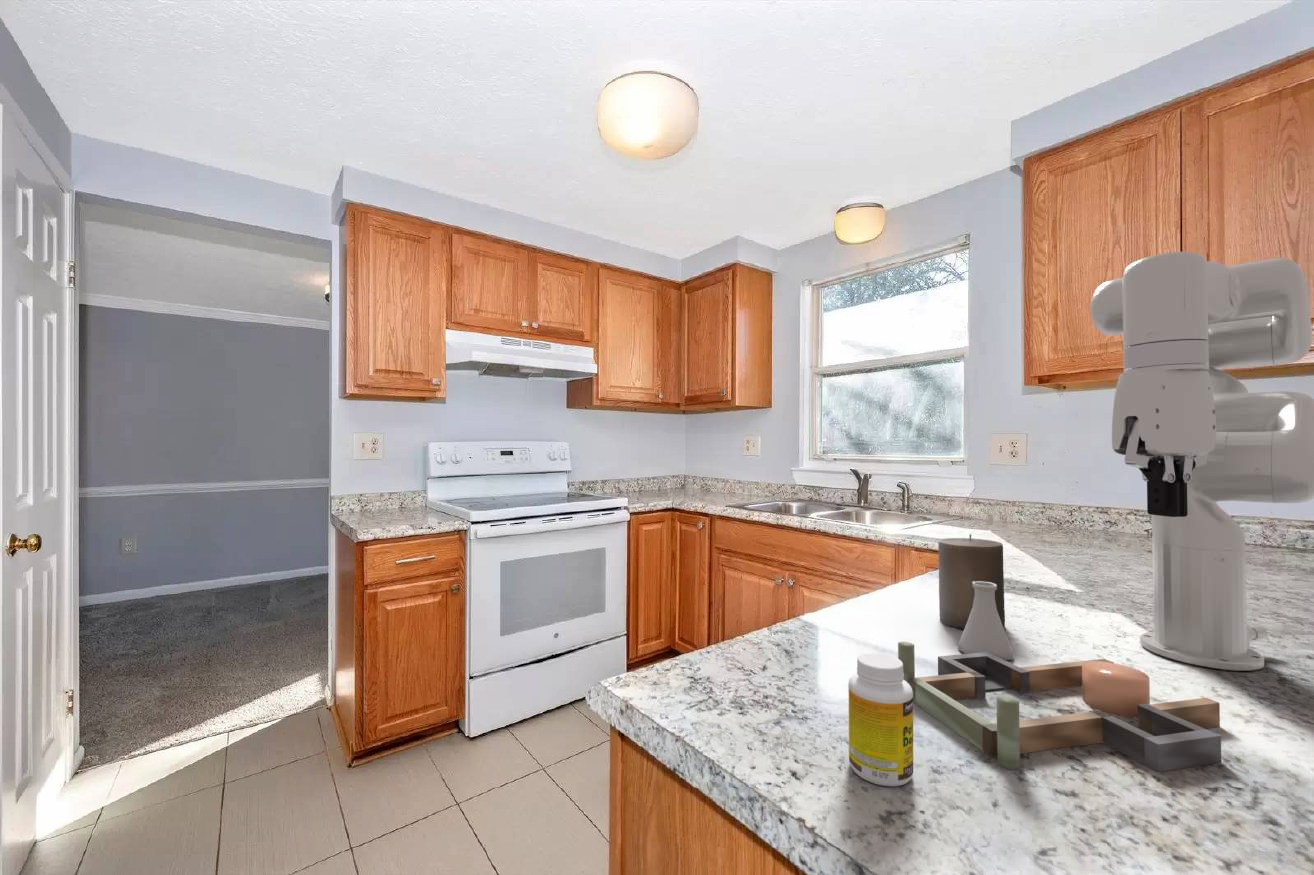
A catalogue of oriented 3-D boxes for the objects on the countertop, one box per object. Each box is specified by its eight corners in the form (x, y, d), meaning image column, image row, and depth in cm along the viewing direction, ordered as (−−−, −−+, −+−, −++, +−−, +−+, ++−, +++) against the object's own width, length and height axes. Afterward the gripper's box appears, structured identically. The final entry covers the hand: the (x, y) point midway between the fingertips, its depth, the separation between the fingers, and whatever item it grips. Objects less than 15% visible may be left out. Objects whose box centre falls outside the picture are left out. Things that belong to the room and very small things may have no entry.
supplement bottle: (913, 796, 48) (912, 676, 48) (845, 780, 50) (844, 666, 50) (914, 763, 53) (913, 654, 53) (852, 749, 55) (851, 645, 55)
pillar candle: (1018, 633, 89) (1016, 538, 89) (956, 632, 89) (955, 538, 89) (983, 615, 98) (982, 530, 99) (928, 614, 98) (927, 529, 99)
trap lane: (1067, 663, 76) (1066, 619, 76) (1283, 752, 54) (1282, 690, 54) (880, 681, 71) (880, 634, 71) (1036, 790, 48) (1035, 721, 48)
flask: (1024, 664, 76) (1023, 591, 76) (966, 660, 77) (965, 588, 78) (1002, 646, 83) (1001, 578, 83) (950, 642, 84) (949, 576, 85)
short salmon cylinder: (1110, 692, 68) (1109, 659, 68) (1164, 716, 62) (1163, 679, 62) (1069, 697, 66) (1068, 663, 66) (1120, 721, 60) (1120, 684, 60)
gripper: (1179, 367, 71) (1181, 510, 71) (1082, 363, 68) (1084, 513, 68) (1252, 358, 64) (1255, 518, 64) (1147, 353, 61) (1150, 521, 61)
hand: (1167, 515), depth 66 cm, fingers closed
